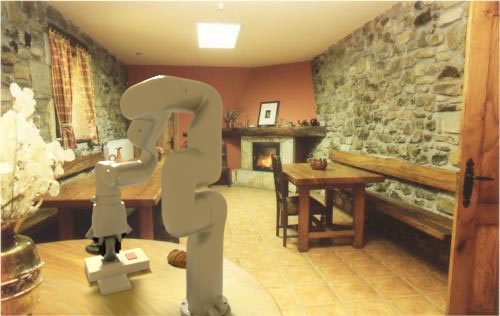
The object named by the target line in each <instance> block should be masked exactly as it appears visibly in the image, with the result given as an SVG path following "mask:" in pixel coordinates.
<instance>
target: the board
mask: <svg viewBox="0 0 500 316" xmlns="http://www.w3.org/2000/svg"><path fill="white" fill-rule="evenodd" d="M119 252H120V253H119V254H117V259H116V260H115V261H112V262H105V261H104V260H103V257H102V256H101V254H99V255H96V256H89V257H85V258H84V269H85V271H86V276H87V279H88V282H89V283H92V282H98V280H102V279H106V278H110V277H115V276H119V275H123V274H126V275H128V274H132V273H133V274H134V273H137V272H140V271H141V272H142V271H145V270H149V269H150V259H149V257H148V256H147V255H146V253H145V252H144V251H143V250H142V248H141V247H137V248H132V249H127V250H119Z"/></svg>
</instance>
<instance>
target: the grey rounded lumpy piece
mask: <svg viewBox="0 0 500 316" xmlns="http://www.w3.org/2000/svg"><path fill="white" fill-rule="evenodd" d="M91 241H92V242H91V243H90V244H88V245H86V246H85V247H84V248H85V249H84V250H85V251H86V252H89V253H91V254H93V255H94V254H95V255H100V254H99V252H98V244H97V243H96V242H94V241H93V240H91Z"/></svg>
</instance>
